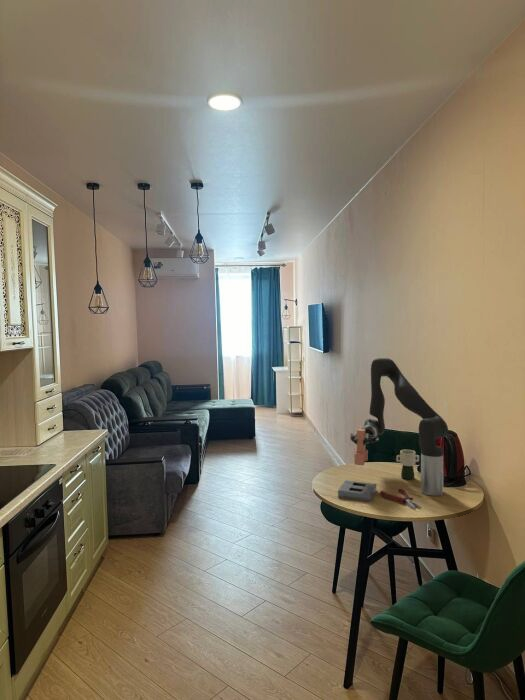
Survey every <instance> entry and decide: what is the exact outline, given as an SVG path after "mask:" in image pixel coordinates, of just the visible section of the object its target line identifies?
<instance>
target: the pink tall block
mask: <svg viewBox="0 0 525 700" xmlns="http://www.w3.org/2000/svg"><path fill="white" fill-rule="evenodd" d="M356 434H357V444H356V452H354V465H357V466H364V465H365V462H367V461H369V459H368V454H369V450H368V448H367V449H366V444H365V445H363V440H364V439H365V429H362V428H357V430H356Z"/></svg>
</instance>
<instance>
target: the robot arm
mask: <svg viewBox="0 0 525 700" xmlns="http://www.w3.org/2000/svg"><path fill="white" fill-rule="evenodd" d="M382 377H386V378H388V379H389V380H390V381H391V382H392V383H393V386H394V395H395V398H396V399H397V400H398V401H399V403H400V404H401V405H402V406H403V407H404V408H405V409H407V410H408V411H410V412H412V413H414V414H415V415H417V416H419V417H420V418H421V420H420V421H419V423H418V446H419V448H420V492H421V493H422V494H424V495H427V496H434V497H436V496H438V497H439V496H443V495H444V448H443V447H442V446H440V445H436V439H441V438H445V437H446V436H447V435H448V434H449V428H448V424H447V422H446V421H445V420H444V419H443V417H442V416H440V414H438V413H437V412H436V411H435V409H433V408H432V407H431V406H430V405H429V404H428V403H427V401H426V400H425V399H424V398H423V397H422V396H421V395H420V393H419V392H418V391H417V390H416V389H415V387H414V386H413V385H412V384H411V383H410V382H409V380H408V379H407V378H406V376H404V374H403V373H402V371H401V369H399V367H398V366H397V364H396V362H395V361H394V360H392V359H391V358H387V357H386V358H384V357H383V358H382V357H380V358H379V357H377V358H374V359H373V360H372V361H371V365H370V387H371V388H370V389H371V393H370V394H371V397H370V398H371V399H370V404H369V405H370V406H369V414H370V416H372V417H375V418H376V419H377V420H376V419H371V418H368V419H366V420H365V422H364V425H363V426H362V427H361V429H365V439H364V440H363V445H365V446H366V445H367V444H375V443H378V442H379V436H383V434H384V433H385V430H386V426H385V418H384V413H385V412H384V411H385V405H386V404H385V403H386V402H385V401H386V399H385V395H384V392H383V389H382V387H381V380H382V379H381V378H382ZM349 437H350V440H351V442H353V443H354V444H355V445H357V433H356V434H354V433H350V436H349Z"/></svg>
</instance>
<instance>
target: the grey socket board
mask: <svg viewBox="0 0 525 700" xmlns="http://www.w3.org/2000/svg"><path fill="white" fill-rule="evenodd" d="M341 484H342V485H340V487H339V489H338V490H337V497H338V498H341V497H344V498H343V499H348V498H349V500H355V499H357V500H356V501H362V500H363V501H364V502H369V501H371V502H372V500H373V498H374V496H375V494H376V492H377V483H370V482H363V481H362V482H361V481H356V480H355V481H354V480H348V479H345V481H344V482H343V483H341Z"/></svg>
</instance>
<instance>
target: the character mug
mask: <svg viewBox="0 0 525 700" xmlns="http://www.w3.org/2000/svg"><path fill="white" fill-rule="evenodd" d="M395 459H396V462H397V463H400V464H401V465H402V466H401V475H400V476H401V478H404V479H410V480H411V479H414V478H415V469H414V466H415V465H416V463H419V462H420V455H418V454H416V451H415V450H414V449H413V450H412V449H401V450H400V453H399V454H397V455H396V458H395Z"/></svg>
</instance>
